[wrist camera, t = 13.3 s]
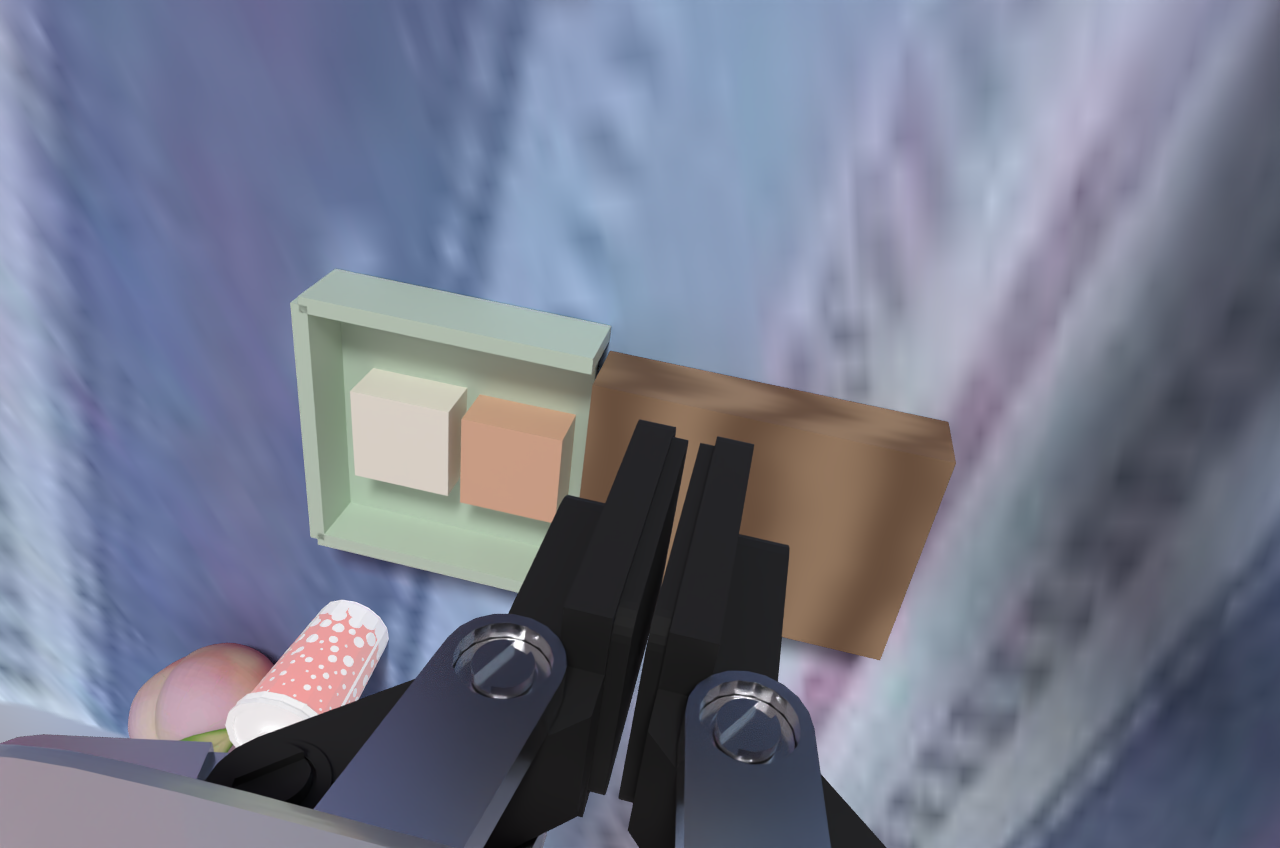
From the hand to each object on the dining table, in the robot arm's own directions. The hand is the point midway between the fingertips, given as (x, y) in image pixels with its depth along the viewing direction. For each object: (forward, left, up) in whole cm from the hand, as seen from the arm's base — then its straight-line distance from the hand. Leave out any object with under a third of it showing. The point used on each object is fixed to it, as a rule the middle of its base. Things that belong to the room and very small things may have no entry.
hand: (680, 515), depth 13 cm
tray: (+13, +18, -27) cm, 35 cm away
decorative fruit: (+27, +40, -27) cm, 55 cm away
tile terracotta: (+10, +18, -27) cm, 34 cm away
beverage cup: (+20, +35, -27) cm, 49 cm away
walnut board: (-2, +18, -27) cm, 33 cm away
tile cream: (+15, +18, -24) cm, 34 cm away
